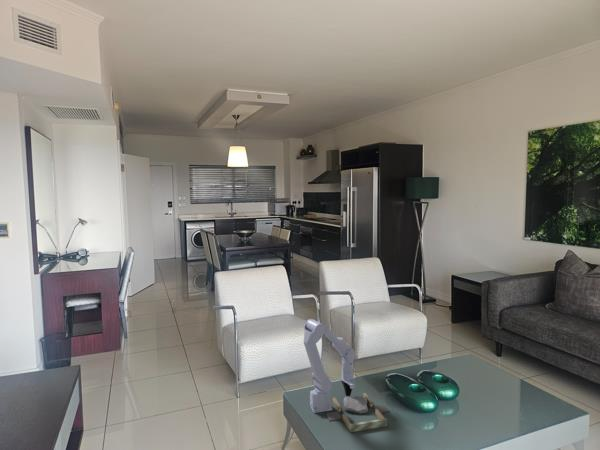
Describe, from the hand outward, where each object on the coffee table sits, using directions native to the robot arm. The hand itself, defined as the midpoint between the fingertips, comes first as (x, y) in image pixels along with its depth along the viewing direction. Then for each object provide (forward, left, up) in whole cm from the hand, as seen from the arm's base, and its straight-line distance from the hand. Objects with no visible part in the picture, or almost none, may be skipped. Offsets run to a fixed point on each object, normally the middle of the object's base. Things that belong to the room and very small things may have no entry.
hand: (348, 395), depth 200 cm
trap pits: (0, -14, -1) cm, 14 cm away
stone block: (0, -10, -2) cm, 10 cm away
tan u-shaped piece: (0, -14, -1) cm, 14 cm away
